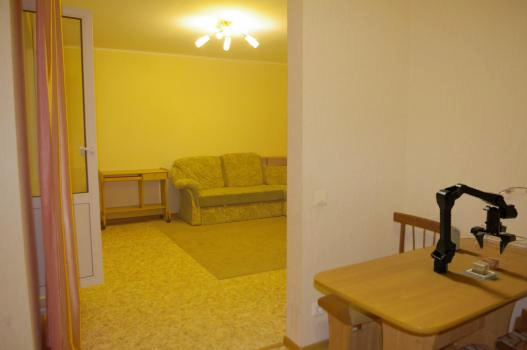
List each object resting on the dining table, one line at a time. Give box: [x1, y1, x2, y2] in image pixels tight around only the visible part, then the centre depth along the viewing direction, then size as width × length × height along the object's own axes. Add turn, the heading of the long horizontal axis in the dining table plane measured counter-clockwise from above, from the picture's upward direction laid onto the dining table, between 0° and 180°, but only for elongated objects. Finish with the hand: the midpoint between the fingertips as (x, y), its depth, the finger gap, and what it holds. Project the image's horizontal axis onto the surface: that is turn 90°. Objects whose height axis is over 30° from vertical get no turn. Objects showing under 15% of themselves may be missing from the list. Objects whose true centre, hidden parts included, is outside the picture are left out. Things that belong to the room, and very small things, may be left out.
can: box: [451, 226, 462, 251], centre depth 216 cm, size 8×8×12 cm
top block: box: [482, 256, 500, 271], centre depth 186 cm, size 5×5×5 cm
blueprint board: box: [460, 267, 501, 282], centre depth 179 cm, size 12×12×2 cm
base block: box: [471, 260, 490, 276], centre depth 178 cm, size 5×5×5 cm
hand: (491, 251), depth 185 cm, fingers open, 9 cm apart
